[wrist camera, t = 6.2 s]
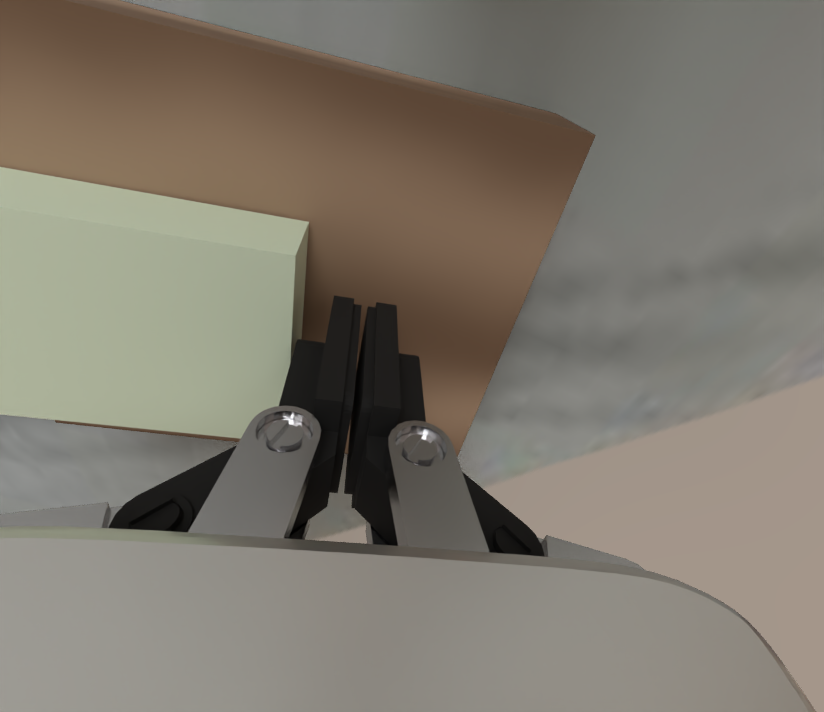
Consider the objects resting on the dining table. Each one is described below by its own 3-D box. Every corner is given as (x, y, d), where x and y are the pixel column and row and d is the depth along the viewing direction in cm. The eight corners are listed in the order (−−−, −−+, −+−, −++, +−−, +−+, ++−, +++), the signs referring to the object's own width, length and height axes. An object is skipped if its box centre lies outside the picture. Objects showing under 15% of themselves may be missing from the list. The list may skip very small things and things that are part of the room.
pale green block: (-10, 361, 13) (-65, 407, 12) (-110, 147, 10) (-210, 171, 8) (297, 396, 14) (286, 443, 13) (309, 221, 11) (295, 255, 9)
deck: (0, -31, 10) (-118, -47, 8) (555, 113, 13) (595, 135, 10) (101, 366, 17) (55, 422, 15) (445, 411, 20) (453, 465, 17)
